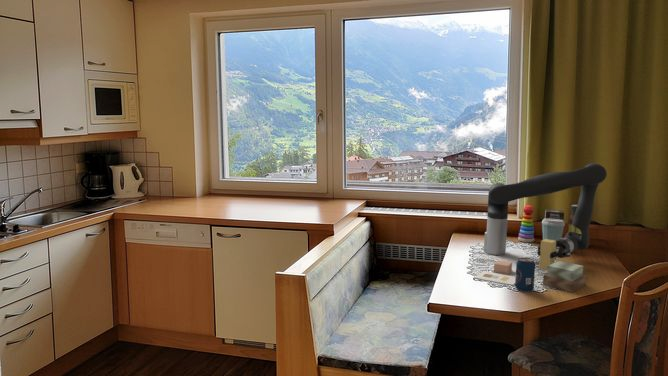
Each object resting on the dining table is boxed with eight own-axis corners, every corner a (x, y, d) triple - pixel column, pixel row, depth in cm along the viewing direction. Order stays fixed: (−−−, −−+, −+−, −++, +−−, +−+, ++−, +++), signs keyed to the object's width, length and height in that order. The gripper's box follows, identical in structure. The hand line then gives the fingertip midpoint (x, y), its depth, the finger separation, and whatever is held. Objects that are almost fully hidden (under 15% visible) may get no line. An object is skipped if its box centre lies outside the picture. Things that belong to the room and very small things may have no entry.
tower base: (542, 285, 229) (544, 265, 228) (555, 278, 238) (557, 259, 236) (573, 292, 221) (574, 272, 220) (585, 285, 229) (586, 265, 228)
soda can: (512, 286, 227) (513, 257, 225) (529, 286, 228) (531, 256, 226) (518, 292, 220) (520, 262, 218) (536, 292, 221) (538, 261, 219)
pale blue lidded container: (543, 242, 297) (545, 211, 294) (542, 239, 303) (544, 209, 300) (562, 243, 294) (564, 212, 291) (561, 240, 300) (563, 210, 297)
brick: (493, 272, 245) (494, 263, 245) (497, 269, 250) (498, 260, 250) (507, 275, 242) (508, 265, 242) (511, 271, 247) (512, 262, 247)
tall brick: (538, 268, 243) (541, 240, 241) (543, 266, 246) (545, 238, 244) (549, 270, 240) (551, 242, 238) (553, 268, 243) (556, 240, 241)
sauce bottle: (581, 243, 295) (584, 204, 292) (580, 245, 289) (583, 207, 286) (567, 241, 297) (570, 203, 294) (566, 244, 292) (569, 205, 289)
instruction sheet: (474, 278, 237) (474, 277, 237) (483, 271, 246) (483, 270, 246) (513, 285, 228) (513, 284, 228) (521, 278, 237) (521, 277, 237)
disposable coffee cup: (540, 245, 290) (542, 216, 288) (563, 247, 286) (565, 217, 284) (539, 250, 280) (541, 220, 278) (563, 252, 276) (565, 222, 274)
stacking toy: (535, 243, 294) (537, 207, 291) (518, 242, 295) (521, 206, 292) (533, 239, 302) (535, 204, 299) (517, 238, 303) (519, 203, 300)
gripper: (546, 235, 256) (529, 242, 244) (579, 242, 246) (562, 249, 234) (545, 252, 257) (527, 259, 245) (577, 259, 248) (560, 267, 236)
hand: (544, 254), depth 240 cm, fingers closed on tall brick, 4 cm apart
